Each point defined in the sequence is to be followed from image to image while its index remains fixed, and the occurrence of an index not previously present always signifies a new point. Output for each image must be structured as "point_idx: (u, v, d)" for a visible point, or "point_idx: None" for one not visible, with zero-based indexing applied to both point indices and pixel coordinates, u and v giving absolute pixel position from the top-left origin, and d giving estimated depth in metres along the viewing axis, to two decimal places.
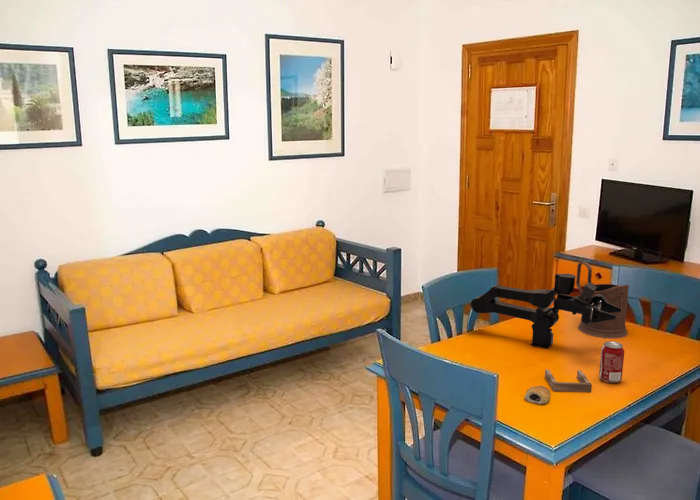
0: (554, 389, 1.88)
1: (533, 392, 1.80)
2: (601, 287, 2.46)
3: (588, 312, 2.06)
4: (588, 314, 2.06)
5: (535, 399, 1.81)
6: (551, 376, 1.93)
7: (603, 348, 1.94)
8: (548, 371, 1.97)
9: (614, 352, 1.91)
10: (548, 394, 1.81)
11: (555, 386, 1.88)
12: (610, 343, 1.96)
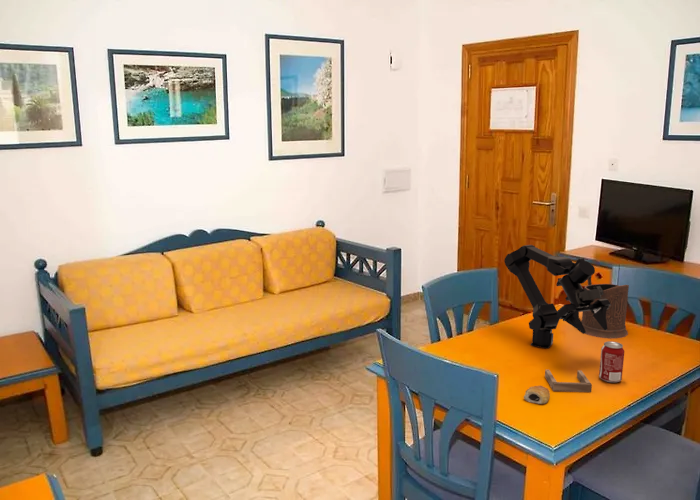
0: (554, 389, 1.88)
1: (532, 392, 1.80)
2: (601, 287, 2.46)
3: (564, 312, 2.00)
4: (563, 313, 2.01)
5: (534, 399, 1.81)
6: (551, 376, 1.93)
7: (603, 348, 1.94)
8: (548, 371, 1.97)
9: (614, 352, 1.91)
10: (547, 394, 1.82)
11: (555, 386, 1.88)
12: (610, 343, 1.96)
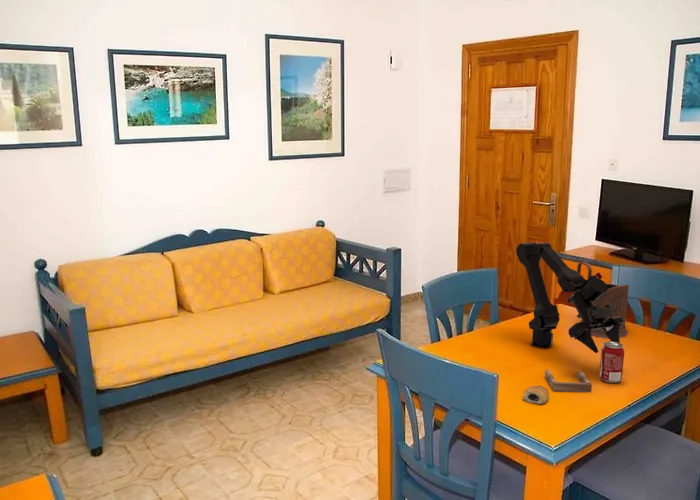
0: (554, 389, 1.88)
1: (532, 392, 1.80)
2: None
3: (576, 330, 1.96)
4: (575, 331, 1.96)
5: (533, 399, 1.81)
6: (551, 376, 1.93)
7: (603, 348, 1.94)
8: (548, 371, 1.97)
9: (614, 352, 1.91)
10: (546, 394, 1.82)
11: (555, 386, 1.88)
12: (610, 343, 1.96)
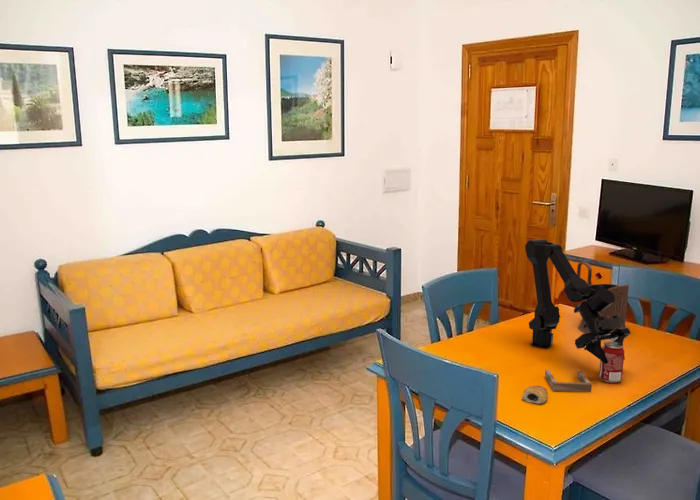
0: (554, 389, 1.88)
1: (531, 392, 1.80)
2: None
3: (582, 341, 1.93)
4: (581, 342, 1.94)
5: (532, 399, 1.81)
6: (551, 376, 1.93)
7: (603, 348, 1.94)
8: (548, 371, 1.97)
9: (614, 352, 1.91)
10: (546, 394, 1.82)
11: (555, 386, 1.88)
12: (610, 343, 1.96)
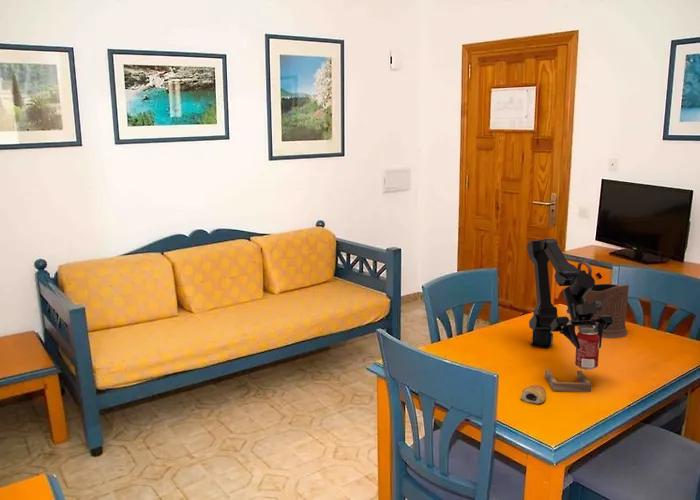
0: (554, 389, 1.88)
1: (529, 392, 1.81)
2: (601, 287, 2.46)
3: (555, 324, 1.92)
4: (554, 325, 1.93)
5: (531, 399, 1.81)
6: (551, 376, 1.93)
7: (577, 334, 1.91)
8: (548, 371, 1.97)
9: (585, 338, 1.88)
10: (544, 393, 1.82)
11: (555, 386, 1.88)
12: (587, 329, 1.92)
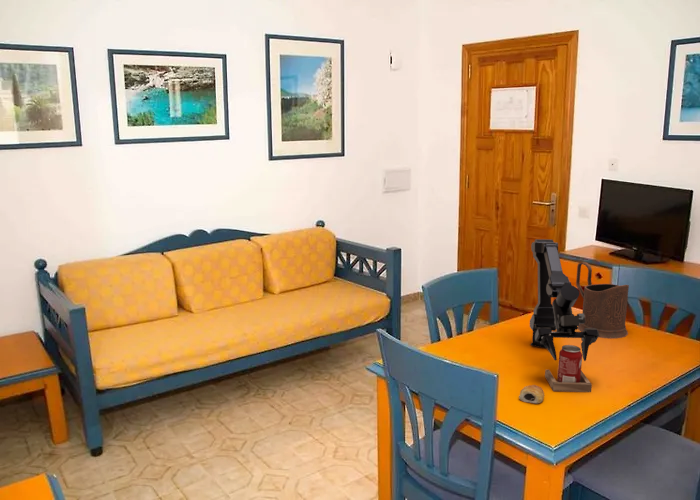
0: (554, 389, 1.88)
1: (528, 392, 1.81)
2: (601, 287, 2.46)
3: (537, 334, 1.94)
4: (537, 335, 1.95)
5: (529, 399, 1.81)
6: (551, 376, 1.93)
7: (560, 350, 1.92)
8: (548, 371, 1.97)
9: (566, 356, 1.89)
10: (542, 393, 1.82)
11: (555, 386, 1.88)
12: (571, 347, 1.93)
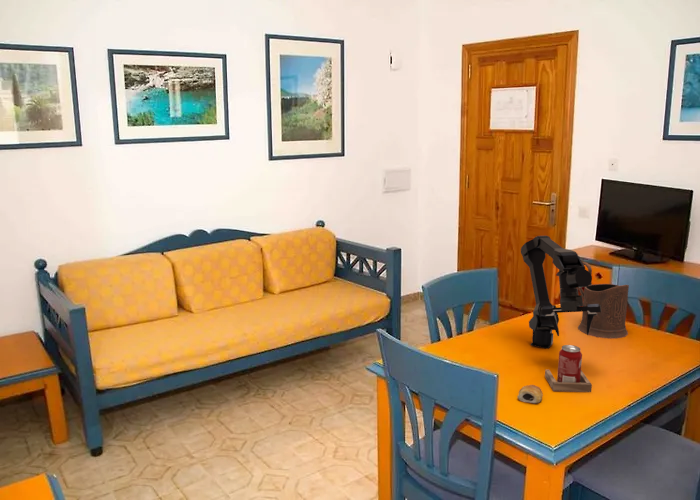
0: (554, 389, 1.88)
1: (526, 392, 1.81)
2: (601, 287, 2.46)
3: None
4: None
5: (528, 399, 1.81)
6: (551, 376, 1.93)
7: (560, 350, 1.92)
8: (548, 371, 1.97)
9: (566, 355, 1.89)
10: (540, 393, 1.82)
11: (555, 386, 1.88)
12: (571, 347, 1.93)
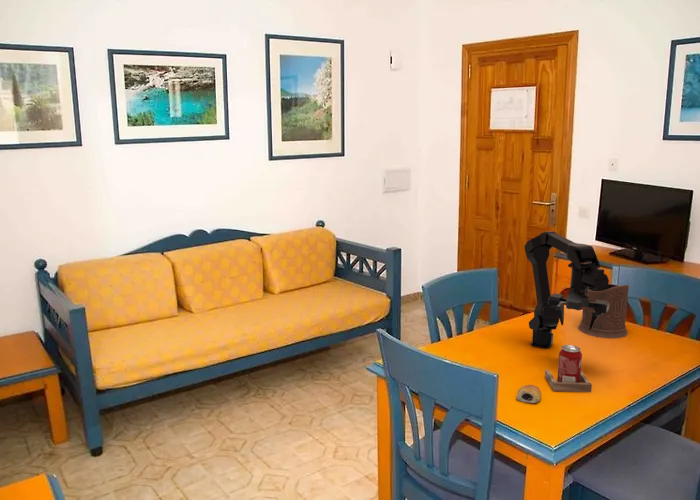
0: (554, 389, 1.88)
1: (525, 392, 1.81)
2: None
3: None
4: None
5: (527, 398, 1.81)
6: (551, 376, 1.93)
7: (560, 350, 1.92)
8: (548, 371, 1.97)
9: (566, 355, 1.89)
10: (539, 393, 1.82)
11: (555, 386, 1.88)
12: (571, 347, 1.93)
